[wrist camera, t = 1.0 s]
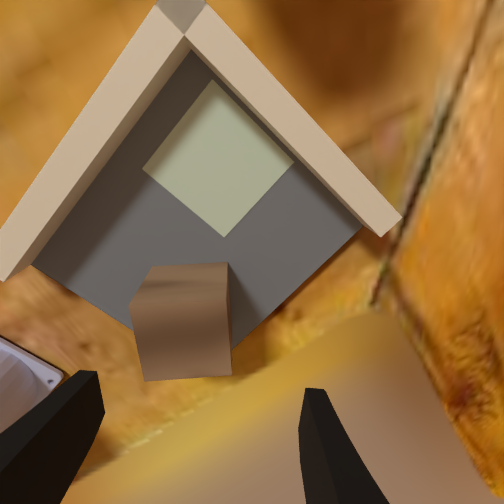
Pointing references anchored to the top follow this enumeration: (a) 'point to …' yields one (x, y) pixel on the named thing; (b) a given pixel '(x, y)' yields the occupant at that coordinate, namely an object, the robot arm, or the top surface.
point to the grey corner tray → (190, 177)
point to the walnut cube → (184, 322)
